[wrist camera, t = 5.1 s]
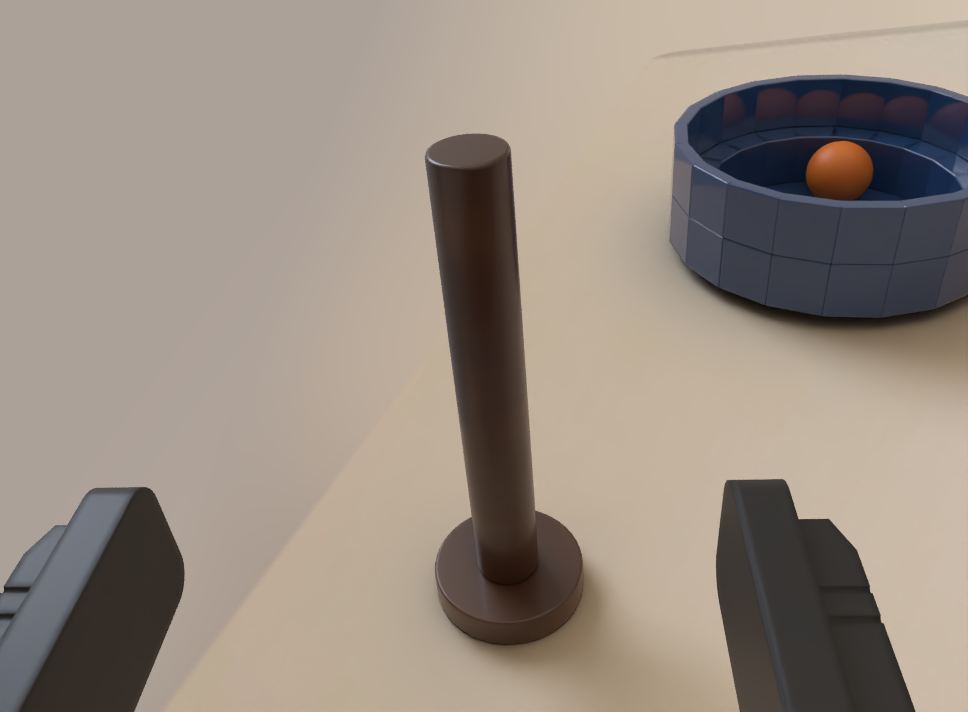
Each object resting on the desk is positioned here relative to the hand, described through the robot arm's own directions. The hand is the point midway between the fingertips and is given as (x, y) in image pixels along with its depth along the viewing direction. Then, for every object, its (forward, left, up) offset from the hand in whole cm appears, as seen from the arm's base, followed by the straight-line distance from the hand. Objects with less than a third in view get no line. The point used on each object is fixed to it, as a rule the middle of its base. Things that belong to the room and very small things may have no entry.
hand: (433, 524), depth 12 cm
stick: (+4, +7, -12) cm, 15 cm away
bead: (+29, +19, -10) cm, 36 cm away
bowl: (+26, +17, -12) cm, 34 cm away
